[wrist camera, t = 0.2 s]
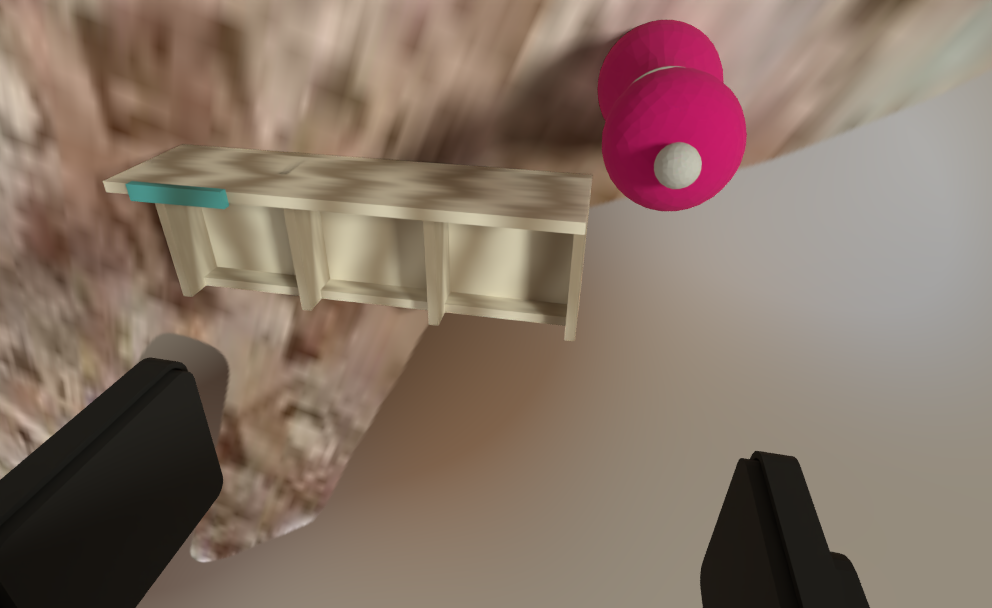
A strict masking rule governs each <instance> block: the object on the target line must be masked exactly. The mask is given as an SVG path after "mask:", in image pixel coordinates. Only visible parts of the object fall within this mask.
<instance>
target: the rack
mask: <svg viewBox="0 0 992 608" xmlns="http://www.w3.org/2000/svg"><path fill="white" fill-rule="evenodd" d="M103 184H104V186H105V189H106V192H110V193H121V194H129V197H130V200H131V201H139V202H150V203H155V205H156V208H157V212H158V215H159V218H160V221H161V225H162V228H163V231H164V234H165V237H166V241H167V244H168V247H169V250H170V253H171V257H172V260H173V263H174V266H175V270H176V273H177V276H178V279H179V282H180V286H181V289H182V292H183V295H184V296H189V297H193V296H194V295H195V294H196V293H197V292H199V291H200V290H201V289H202V288H204V287H205V286H206V285H208V286H217V287H226V288H234V289H243V290H252V291H261V292H270V293H279V294H288V295H297V296H300V301H301V306H302V310H310V311H311V310H312V309H313V308H314V307H315V306H316V305H317V303H318V302H319V301H320V300H321V299H322V298H323V299H332V300H341V301H350V302H359V303H368V304H377V305H385V306H394V307H403V308H412V309H421V310H428V319H429V324H431V325H439V323H440V321H441V319H442V317H443V315H444V313H445V312H448V313H457V314H465V315H474V316H483V317H492V318H501V319H510V320H519V321H528V322H536V323H546V324H555V325H564V326H565V337H564V340H568V341H575V334H576V326H577V318H578V310H579V300H580V291H581V281H582V271H583V262H584V252H585V243H586V233H587V223H588V214H589V204H590V194H591V185H592V175H589V174H575V173H562V172H548V171H535V170H521V169H508V168H494V167H481V166H468V165H454V164H441V163H427V162H414V161H400V160H387V159H373V158H360V157H346V156H333V155H319V154H306V153H292V152H279V151H266V150H252V149H239V148H225V147H212V146H198V145H185V144H182V145H180V146H178V147H176V148H174V149H171V150H169V151H167V152H165V153H163V154H161V155H158V156H156V157H154V158H152V159H150V160H148V161H145V162H143V163H141V164H139V165H137V166H135V167H132V168H130V169H128V170H126V171H124V172H122V173H119V174H117V175H115V176H113V177H111V178H109V179H106V180H104V181H103Z"/></svg>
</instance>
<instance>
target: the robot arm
mask: <svg viewBox="0 0 992 608" xmlns="http://www.w3.org/2000/svg"><path fill="white" fill-rule="evenodd" d="M222 485H223V475H222V472H221V468H220V465H219V461H218V458H217V455H216V451H215V448H214V444H213V441H212V437H211V434H210V431H209V427H208V424H207V420H206V416H205V413H204V410H203V406H202V403H201V400H200V396H199V392H198V389H197V385H196V382H195V378H194V376H193V374H191V373H190V372H188V370H187V368H186V366H185V365H184V364H183V363H180V362H176V361H169V360H163V359H156V358H146V359H144V360H142V361H140V362H139V363H138V364H137V365H135V366H134V367H133V368H132V369H131V370H129V371H128V372H127V373H126V374H125V375H124V376H122V377H121V378H120V379H119V380H118V381H116V382H115V383H114V384H113V385H112V386H111V387H109V388H108V389H107V390H106V391H105V392H103V393H102V394H101V395H100V396H99V397H98V398H96V399H95V400H94V401H93V402H92V403H90V404H89V405H88V406H87V407H86V408H85V409H83V410H82V411H81V412H80V413H79V414H77V415H76V416H75V417H74V418H73V419H72V420H70V421H69V422H68V423H67V424H66V425H64V426H63V427H62V428H61V429H60V430H59V431H57V432H56V433H55V434H54V435H53V436H51V437H50V438H49V439H48V440H47V441H46V442H44V443H43V444H42V445H41V446H40V447H39V448H37V449H36V450H35V451H34V452H33V453H31V454H30V455H29V456H28V457H27V458H26V459H24V460H23V461H22V462H21V463H20V464H18V465H17V466H16V467H15V468H14V469H13V470H11V471H10V472H9V473H8V474H7V475H5V476H4V477H3V478H2V479H1V480H0V608H136V606H137V605H138V604H139V602H140V601H141V600H142V598H143V597H144V596H145V594H146V593H147V591H148V590H149V589H150V587H151V586H152V585H153V583H154V582H155V581H156V579H157V578H158V577H159V575H160V574H161V573H162V571H163V570H164V569H165V567H166V566H167V565H168V563H169V562H170V561H171V559H172V558H173V556H174V555H175V554H176V553H177V551H178V550H179V548H180V547H181V546H182V544H183V543H184V542H185V540H186V539H187V538H188V536H189V535H190V534H191V532H192V531H193V530H194V528H195V527H196V526H197V524H198V523H199V522H200V520H201V519H202V518H203V516H204V515H205V514H206V512H207V511H208V510H209V508H210V507H211V505H212V504H213V503H214V501H215V500H216V499H217V497H218V496H219V494H220V491H221V489H222ZM700 586H701V595H702V604H703V608H870V607H869V604H868V602H867V599H866V596H865V594H864V591H863V588H862V586H861V583H860V580H859V578H858V575H857V573H856V571H855V569H854V567H853V565H852V563H851V561H850V560H849V559H848V558H847V557H846V556H845V555H843V554H840V553H835V552H830V551H829V548H828V545H827V542H826V539H825V537H824V533H823V530H822V527H821V525H820V522H819V519H818V516H817V513H816V510H815V507H814V504H813V502H812V499H811V496H810V493H809V490H808V487H807V484H806V481H805V478H804V475H803V473H802V470H801V467H800V464H799V462H798V460H797V459H796V458H795V457H793V456H787V455H780V454H774V453H767V452H761V451H755V452H754V453H753V454H752V456H751V458H750V459H744V458H741V459H740V460H739V461H738V463H737V466H736V469H735V472H734V475H733V477H732V480H731V483H730V486H729V489H728V492H727V494H726V497H725V500H724V503H723V506H722V509H721V511H720V514H719V517H718V520H717V523H716V526H715V528H714V532H713V535H712V537H711V540H710V543H709V546H708V548H707V551H706V554H705V557H704V560H703V563H702V567H701V575H700Z"/></svg>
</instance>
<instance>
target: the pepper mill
mask: <svg viewBox="0 0 992 608" xmlns="http://www.w3.org/2000/svg"><path fill="white" fill-rule="evenodd" d="M597 90H598V101H599V106H600V109H601V112H602V115H603V118H604V119H605V121H606V122H605V126H604V129H603V132H602V154H603V159H604V163H605V166H606V169H607V172H608V174H609V176H610V178H611V180H612V181H613V183H614V184H615V185H616V187H617V188H618V189H619V190H620V191H621V192H622V193H623V194H624V195H625V196H626V197H628V198H629V199H630V200H632V201H633V202H635V203H637V204H639V205H641V206H643V207H646V208H649V209H653V210H658V211H679V210H684V209H688V208H692V207H694V206H697V205H700V204H701V203H703V202H705V201H706V200H708V199H710V198H712V197H714V196H715V195H716V194H717V193H718V192H719V191H721V190H722V189H723V188H724V187H725V185H726V184H727V183H728V182H729V181H730V180H731V179H732V177H733V176H734V174H735V173H736V171H737V169H738V167H739V165H740V163H741V160H742V157H743V154H744V151H745V146H746V136H747V133H746V124H745V118H744V114H743V110H742V108H741V105H740V103H739V101H738V99H737V98H736V96H735V95H734V93H733V92H732V91H731V89H729V88H728V87H727V86H726V85H725V84H724V83H723V69H722V65H721V61H720V58H719V55H718V52H717V50H716V49H715V47H714V45H713V43H712V42H711V41H710V40H709V38H708V37H707V36H706V35H705V34H704V33H702V32H701V31H700V30H699V29H697V28H695V27H694V26H692V25H689V24H687V23H684V22H681V21H675V20H657V21H652V22H648V23H645V24H643V25H640V26H638V27H636V28H634V29H632V30H631V31H629V32H628V33H627V34H625V35H624V36H623V37H622V38H620V39H619V40H618V42H617V43H616V44H615V45H614V46H613V47H612V49H611V50H610V52H609V53H608V55H607V56H606V58H605V60H604V62H603V65H602V67H601V70H600V74H599V79H598V89H597Z"/></svg>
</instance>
